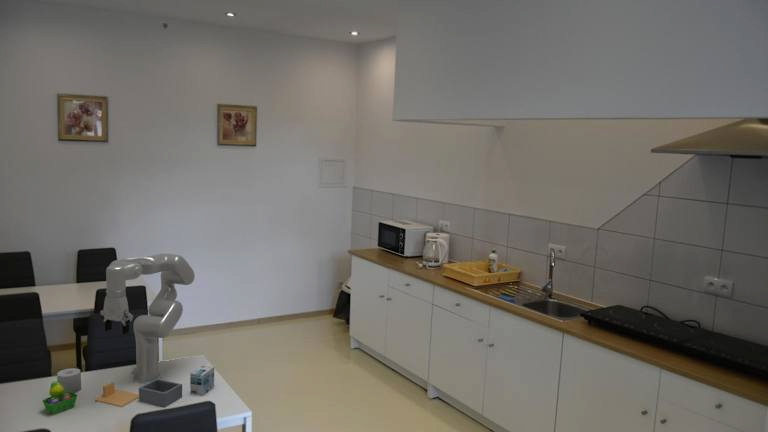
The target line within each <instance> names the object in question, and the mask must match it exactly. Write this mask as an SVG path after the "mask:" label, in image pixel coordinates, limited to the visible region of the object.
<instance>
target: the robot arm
mask: <svg viewBox="0 0 768 432" xmlns="http://www.w3.org/2000/svg"><path fill="white" fill-rule="evenodd" d="M190 265H191V264H189V262H188V261H187V259H185V258H184V257H183V256H181V255H180V254H173V253H158V254H153V255H148V256H141V257H140V256H139V257H128V258H122V259H120V258H119V259H116V260H113V261H112V262H111V263H110V264H109V266H107V267H106V270H105V276H106V277H105V278H106V279H105V280H106V281H105V282H106V285H105V286H106V290H105V293H106V296H105V297H104V301H103V309H102V310H100V312H99V313H100V315H101V318H102V320H103V321H102V322H103V323H104V331H105V332H107V331H111V330H112V329H113V326H112V325H113V324H112V323H113V322H115V321H116V322H121V323H122V326H121V328H122V329H121V330H122V335H127V334H129V333H130V324H131V323H132V322H133V333H134V337H135V346H136V347H135V352H136V353H135V354H136V356H135V358H136V362H135V363H136V367H133V368H132V370H131V371H130V373H131V374H133V375H134V377H133V378H132V382H133V383H134V384H135V383H137V384H147V383H149V382H151V381H153V380H155V379H161V380H162V377H163V375H162V374H161V373H160V372H159V345H158V340H157V338H159V339H164V338H167V337H169V335H170V334H171V333H172V331H173V330H174V328H175V326H176V325H177V323H178V322H179V321H180V318H181V317H182V314H183V310H184V308H183V304H182V303H181V302H180V301H179V300H176V299H177V297H178V293H177V290H176V286H175V285H184V286H188V285H189V286H190V285H191V284H193V282H194V280H195V272H194V271H195V270H194V269H193V268H192V266H190ZM158 273H160V282H161V283H160V284H161V285H160V290H159V292H158V294H157V295H156V296H155V297H154V299H153V300H152V302H151V303H150V305H149V307H148V309H147V312H148V313H147V314H142V315H139V316H137V317H136V318H135V319H134V315H133V314H131V313H130V312H129V310H130V309H129V303H128V297H127V291H126V290H127V289H126V287H127V286H126V282H127V281H130V280H131V281H132V280H136V279H138V278H140V277H141V276H142V275H143V276H144V275H153V274H158ZM133 319H134V321H133ZM112 321H113V322H112Z"/></svg>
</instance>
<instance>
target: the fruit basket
mask: <svg viewBox="0 0 768 432" xmlns="http://www.w3.org/2000/svg"><path fill="white" fill-rule="evenodd" d="M63 391H64V387H63V386H62V385H60V383H58V382H57V381H53V382H51V383H50V388H49V395H50V396H49V397H47V398H44V399H42V403H43V404H44V405H43V406H44V408H45V411H46V412H48V413H49V414H52V415H55V414H58V413H61V412H63V411H66V410H69V409H72V408H74V407H75V405H76V401H77V398H78V394H77V393H72V392H70V391H66V392H63Z"/></svg>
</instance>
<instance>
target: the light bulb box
mask: <svg viewBox="0 0 768 432" xmlns="http://www.w3.org/2000/svg"><path fill="white" fill-rule="evenodd" d="M189 377H190V383H189V385H190V387H189V389H190V392H189V393H190V395H195V396H201V397H203V396H205V395H206V394H208V393H209V392H210V391H211V390H213V389H214V388H215V366H211V365H203V364H202V365H200V366H199V367H197V368H196V369H195V370H193V371H192V372H191V373H190V375H189Z"/></svg>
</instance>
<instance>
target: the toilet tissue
mask: <svg viewBox="0 0 768 432" xmlns="http://www.w3.org/2000/svg"><path fill="white" fill-rule="evenodd" d="M56 382H58V383H60V385H62V386H63V387H64V391H63V392H66V391H70V392H72V393H74V394H77V393H79V392H80V391H81V390H82V374H81V369H80V368H75V367H73V368H72V367H71V368H66V369H62V370H60V371H58V372H56Z"/></svg>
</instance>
